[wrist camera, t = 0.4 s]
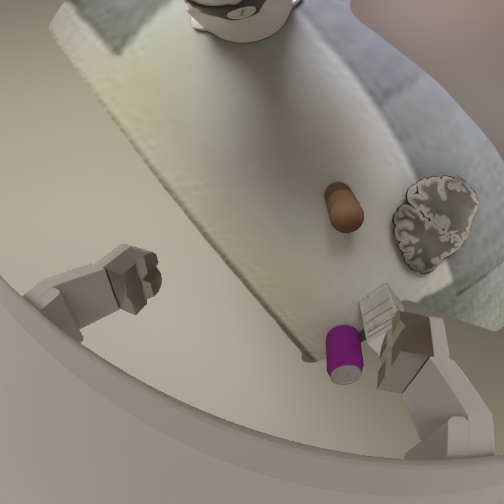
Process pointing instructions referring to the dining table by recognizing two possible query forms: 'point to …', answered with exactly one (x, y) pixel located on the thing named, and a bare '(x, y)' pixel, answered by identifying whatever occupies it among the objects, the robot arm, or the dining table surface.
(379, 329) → the supplement box
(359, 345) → the beverage can
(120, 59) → the dining table surface
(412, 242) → the brain slice
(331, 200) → the walnut pepper mill
